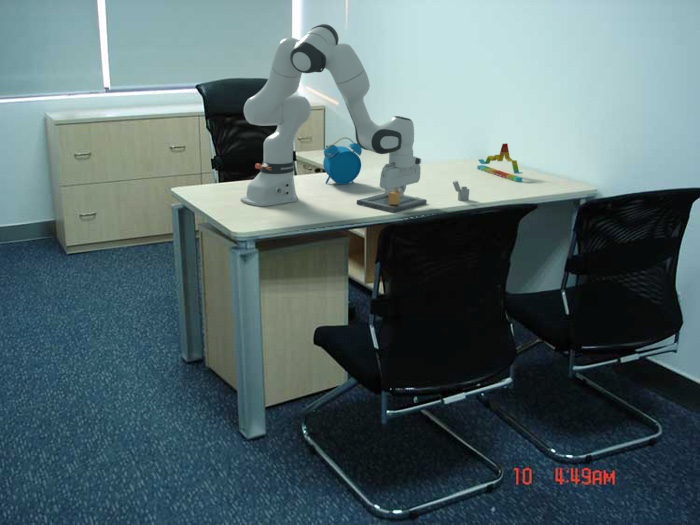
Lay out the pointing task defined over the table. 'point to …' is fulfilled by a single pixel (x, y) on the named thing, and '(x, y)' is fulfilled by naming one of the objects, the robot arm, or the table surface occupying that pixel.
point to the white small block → (388, 191)
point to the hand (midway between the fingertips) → (399, 197)
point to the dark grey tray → (382, 204)
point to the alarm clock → (342, 162)
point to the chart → (500, 157)
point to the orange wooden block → (394, 198)
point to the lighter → (461, 191)
